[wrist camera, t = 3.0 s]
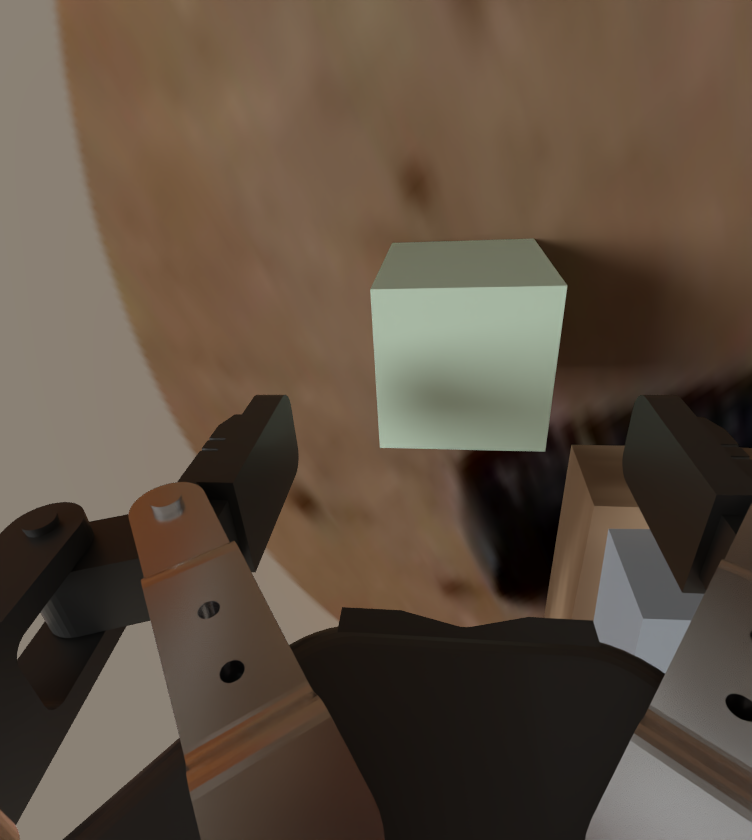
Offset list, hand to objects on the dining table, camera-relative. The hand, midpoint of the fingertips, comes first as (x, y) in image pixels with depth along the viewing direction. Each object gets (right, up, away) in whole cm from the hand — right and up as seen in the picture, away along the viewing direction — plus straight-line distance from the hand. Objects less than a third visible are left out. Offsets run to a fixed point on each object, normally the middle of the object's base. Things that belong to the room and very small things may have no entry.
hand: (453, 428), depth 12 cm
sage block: (+1, +4, +7) cm, 9 cm away
